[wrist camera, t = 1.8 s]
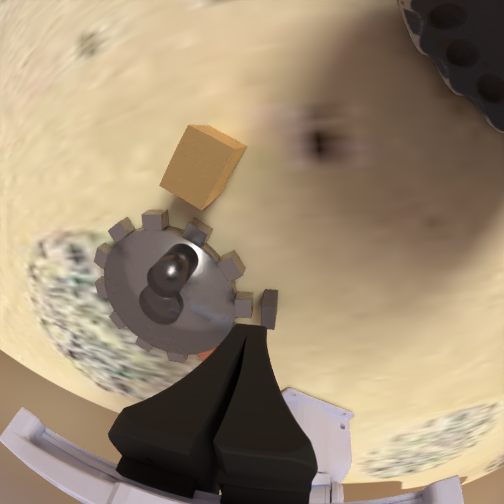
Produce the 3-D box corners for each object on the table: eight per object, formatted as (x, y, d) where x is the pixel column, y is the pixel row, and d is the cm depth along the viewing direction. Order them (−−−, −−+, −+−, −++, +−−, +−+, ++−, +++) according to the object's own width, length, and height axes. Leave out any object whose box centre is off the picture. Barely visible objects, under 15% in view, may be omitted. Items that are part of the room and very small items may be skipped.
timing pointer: (264, 310, 23) (260, 328, 21) (265, 289, 22) (261, 306, 20) (276, 311, 23) (274, 329, 20) (278, 290, 22) (275, 307, 20)
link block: (209, 125, 18) (188, 124, 14) (247, 146, 18) (234, 149, 14) (184, 175, 19) (159, 185, 16) (219, 195, 20) (201, 210, 16)
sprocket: (288, 274, 21) (285, 310, 17) (208, 375, 27) (195, 410, 23) (126, 177, 20) (88, 190, 15) (90, 302, 26) (65, 328, 21)
